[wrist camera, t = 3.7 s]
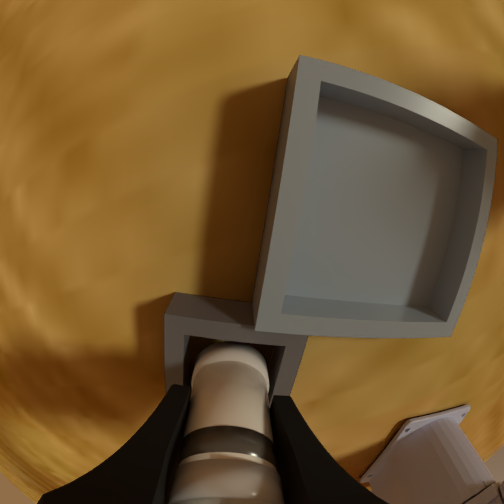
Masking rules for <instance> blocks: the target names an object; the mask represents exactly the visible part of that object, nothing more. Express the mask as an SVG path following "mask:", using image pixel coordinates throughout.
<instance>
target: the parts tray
mask: <svg viewBox="0 0 504 504" xmlns="http://www.w3.org/2000/svg"><path fill="white" fill-rule="evenodd" d="M497 144H498V139H496V138H495V137H493V136H492V135H490V134H489V133H487V132H486V131H484V130H483V129H481V128H479V127H478V126H476V125H475V124H473V123H471V122H470V121H468V120H466V119H465V118H463V117H461V116H459V115H458V114H456V113H454V112H452V111H450V110H449V109H447V108H445V107H443V106H441V105H439V104H437V103H435V102H433V101H431V100H429V99H427V98H425V97H423V96H421V95H419V94H416V93H414V92H412V91H410V90H407V89H405V88H403V87H400V86H398V85H395V84H393V83H390V82H388V81H385V80H383V79H380V78H377V77H375V76H372V75H369V74H366V73H363V72H360V71H357V70H354V69H351V68H348V67H344V66H341V65H338V64H334V63H331V62H327V61H323V60H319V59H315V58H311V57H307V56H302V55H299V57H298V59H297V61H296V63H295V65H294V66H293V68H292V70H291V72H290V74H289V76H288V79H287V86H286V92H285V99H284V106H283V112H282V119H281V125H280V132H279V138H278V145H277V151H276V157H275V164H274V170H273V176H272V183H271V189H270V195H269V201H268V208H267V214H266V220H265V226H264V232H263V238H262V245H261V251H260V257H259V263H258V269H257V275H256V281H255V287H254V293H253V299H252V304H253V316H254V327H255V331H263V332H273V333H285V334H297V335H312V336H330V337H354V338H433V337H451V335H452V332H453V330H454V328H455V326H456V323H457V321H458V318H459V316H460V313H461V311H462V308H463V306H464V303H465V300H466V297H467V295H468V292H469V289H470V286H471V283H472V280H473V277H474V273H475V270H476V267H477V263H478V260H479V256H480V253H481V249H482V245H483V241H484V237H485V232H486V228H487V223H488V218H489V213H490V207H491V201H492V195H493V188H494V180H495V171H496V160H497Z"/></svg>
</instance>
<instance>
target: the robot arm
mask: <svg viewBox="0 0 504 504" xmlns="http://www.w3.org/2000/svg"><path fill="white" fill-rule="evenodd" d="M189 404H190V386H184V385H178V384H173V385H171V386H170V388H169V390H168V392H167V393H166V395H165V397H164V398H163V400H162V401H161V402H160V404H159V405H158V407H157V408H156V409H155V411H154V412H153V413H152V414H151V416H150V417H149V418H148V419H147V421H146V422H145V423H144V424H143V425H142V427H141V428H140V429H139V430H138V431H137V432H136V433H135V434H134V435H133V436H132V437H131V438H130V439H129V440H128V441H127V442H126V443H125V444H124V445H123V446H122V447H121V448H120V449H119V450H117V451H116V452H115V453H114V454H113V455H112V456H110V457H109V458H108V459H106V460H105V461H104V462H102V463H101V464H100V465H98V466H97V467H95V468H94V469H93V470H91V471H89V472H88V473H86V474H84V475H83V476H81V477H79V478H77V479H76V480H74V481H72V482H70V483H68V484H66V485H64V486H62V487H59V488H57V489H55V490H52V491H50V492H47V493H45V494H43V495H42V497H41V498H40V500H39V501H38V503H37V504H168V503H169V497H170V491H171V485H172V479H173V474H174V471H175V470H176V468H177V466H178V461H179V455H180V449H181V443H182V440H183V436H184V430H185V425H186V419H187V414H188V409H189ZM470 408H471V407H470V405H469V404H467V405H464V406H460V407H457V408H454V409H450V410H446V411H443V412H439V413H435V414H431V415H426V416H422V417H417V418H412V419H409V420H407V421H406V422H405V423H404V424H403V425H402V427H401V428H400V430H399V431H398V433H397V434H396V435H395V437H394V438H393V439H392V441H391V442H390V443H389V445H388V446H387V447H386V449H385V450H384V451H383V452H382V454H381V455H380V456H379V457H378V459H377V460H376V461H375V462H374V463H373V465H372V466H371V467H370V468H369V469H368V470H367V472H366V473H365V474H364V475H363V476H362V477H361V478H360V483H366V482H369V484H370V487H371V490H372V492H373V493H372V492H370V491H369V490H368V489H366V488H365V487H364V486H362V485H361V484H360V483H358V482H357V481H356V480H355V479H354V478H353V477H352V476H350V475H349V474H348V473H347V472H346V471H345V470H344V469H343V468H342V467H341V466H340V465H339V464H338V463H337V462H336V461H335V460H334V459H333V457H332V456H331V455H330V454H329V453H328V452H327V450H326V449H325V448H324V447H323V445H322V444H321V443H320V442H319V440H318V439H317V438H316V436H315V435H314V433H313V432H312V431H311V429H310V428H309V426H308V425H307V423H306V422H305V420H304V418H303V417H302V415H301V414H300V412H299V410H298V409H297V407H296V405H295V403H294V402H293V400H292V398H291V397H290V396H282V395H273V399H272V402H271V405H270V416H271V425H272V433H273V442H274V447H275V453H276V462H277V470H278V473H279V475H280V476H281V481H282V488H283V496H284V504H504V481H503V482H502V483H501V482H497V483H495V480H494V478H493V477H492V475H491V473H490V472H489V470H488V469H487V467H486V466H485V464H484V462H483V461H482V459H481V458H480V456H479V455H478V453H477V452H476V450H475V449H474V447H473V446H472V444H471V443H470V441H469V440H468V438H467V437H466V435H465V434H464V432H463V431H462V429H461V428H460V427H459V424H460V422H461V421H462V420H463V418H464V417H465V416H466V414H467V413H468V411H469V410H470Z"/></svg>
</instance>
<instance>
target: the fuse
mask: <svg viewBox="0 0 504 504" xmlns="http://www.w3.org/2000/svg"><path fill="white" fill-rule="evenodd" d="M191 387H192V393H191V398H190V404H189V409H188V414H187V419H186V425H185V430H184V436H183V440H182V443H181V449H180V455H179V461H178V466H177V468H176V470H175V471H174V474H173V479H172V485H171V491H170V497H169V503H168V504H284V496H283V488H282V481H281V476H280V475H279V473H278V470H277V462H276V453H275V447H274V442H273V433H272V425H271V416H270V408H269V399H268V392H269V378H268V370H267V364H266V361H265V359H264V357H263V356H262V354H261V353H260V352H259V351H258V350H256V349H255V348H253V347H251V346H250V345H247V344H244V343H241V342H235V341H224V342H218V343H215V344H212V345H210V346H208V347H206V348H205V349H204V350H203V351H201V353H200V354H199V355H198V357H197V359H196V362H195V366H194V371H193V376H192V381H191Z"/></svg>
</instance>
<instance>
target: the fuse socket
mask: <svg viewBox="0 0 504 504" xmlns="http://www.w3.org/2000/svg"><path fill="white" fill-rule="evenodd" d="M190 335H191V336H197V337H204V338H212V339H219V340H227V341H236V342H245V343H254V344H265V345H274V348H273V352H272V357H271V361H270V365H269V369H268V378H269V392H268V399H269V408H270V405H271V402H272V399H273V395H282V396H290V393H291V390H292V387H293V384H294V381H295V378H296V375H297V372H298V369H299V365H300V362H301V359H302V356H303V352H304V349H305V346H306V342H307V339H308V335H297V334H285V333H273V332H263V331H255V327H254V316H253V304H252V303H251V302H243V301H235V300H227V299H219V298H212V297H204V296H197V295H191V294H184V293H177V292H175V294H174V296H173V298H172V300H171V302H170V304H169V306H168V308H167V310H166V312H165V314H164V358H165V389H166V393H167V392H168V390H169V388H170V386H171V385H173V384H178V385H184V386H190V398H191V393H192V387H191V381H192V377H190V376H189V350H190Z"/></svg>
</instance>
